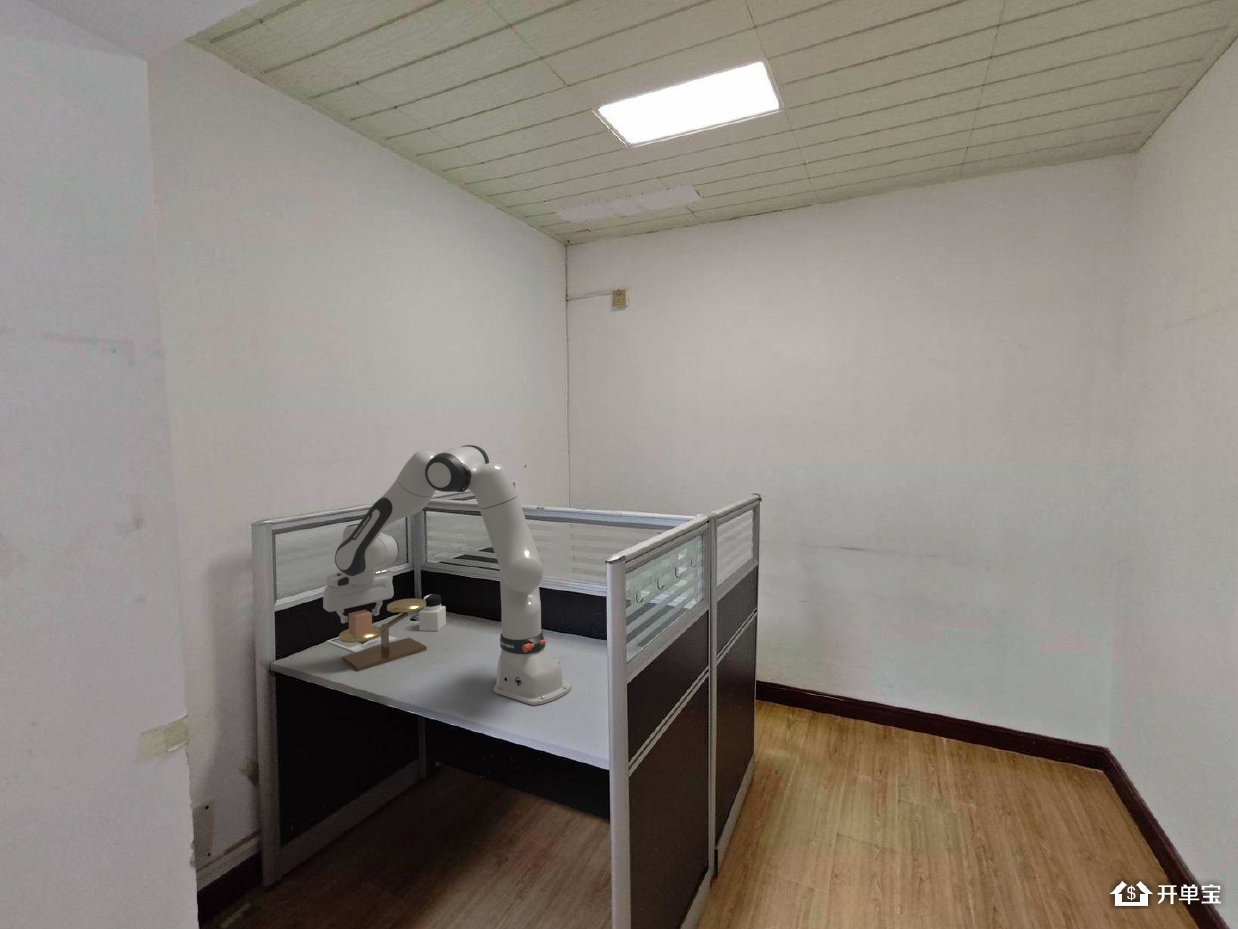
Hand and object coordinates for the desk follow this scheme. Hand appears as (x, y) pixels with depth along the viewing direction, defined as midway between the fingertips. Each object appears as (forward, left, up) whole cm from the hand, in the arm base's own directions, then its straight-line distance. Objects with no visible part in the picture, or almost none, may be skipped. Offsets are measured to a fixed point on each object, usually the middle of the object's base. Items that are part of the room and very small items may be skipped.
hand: (360, 618), depth 169 cm
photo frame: (+18, -7, -14) cm, 24 cm away
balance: (0, -7, -14) cm, 16 cm away
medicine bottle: (+12, -30, -14) cm, 36 cm away
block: (0, 0, -4) cm, 4 cm away
